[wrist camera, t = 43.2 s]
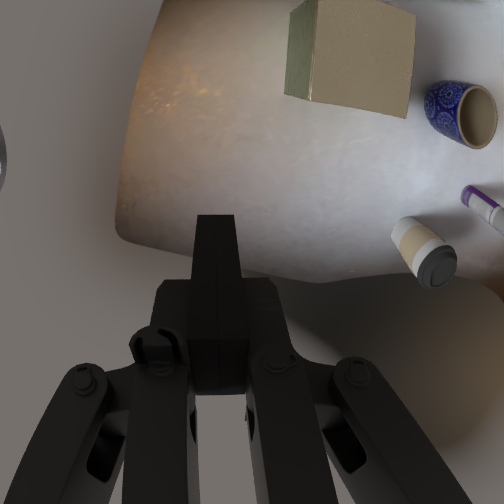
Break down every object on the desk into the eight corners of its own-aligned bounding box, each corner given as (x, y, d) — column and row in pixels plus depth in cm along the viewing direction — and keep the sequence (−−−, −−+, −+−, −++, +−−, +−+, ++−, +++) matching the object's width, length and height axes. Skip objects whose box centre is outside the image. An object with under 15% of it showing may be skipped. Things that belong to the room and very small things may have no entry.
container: (476, 187, 51) (520, 219, 39) (469, 205, 54) (511, 240, 41) (465, 183, 51) (511, 215, 38) (458, 202, 53) (501, 237, 41)
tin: (290, 12, 32) (316, -9, 22) (367, 29, 34) (412, 21, 23) (283, 94, 40) (307, 100, 29) (359, 104, 41) (402, 117, 31)
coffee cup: (421, 206, 53) (465, 245, 40) (421, 241, 58) (460, 283, 45) (384, 220, 54) (424, 264, 41) (388, 255, 59) (422, 302, 46)
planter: (462, 122, 43) (501, 137, 34) (425, 140, 45) (464, 159, 36) (448, 70, 37) (490, 78, 28) (408, 86, 39) (450, 94, 30)
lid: (316, -14, 21) (319, -16, 21) (412, 15, 23) (416, 15, 22) (308, 100, 29) (310, 101, 28) (402, 117, 31) (405, 119, 30)
